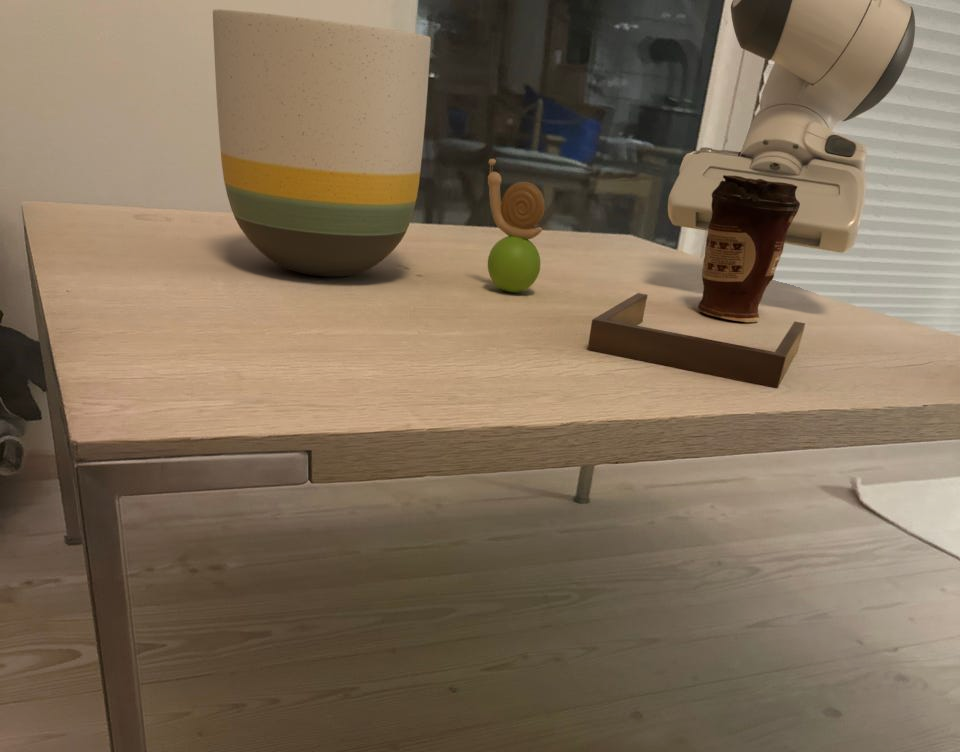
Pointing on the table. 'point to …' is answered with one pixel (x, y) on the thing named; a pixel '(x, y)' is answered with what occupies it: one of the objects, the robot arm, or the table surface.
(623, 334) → the corral
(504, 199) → the snail figurine
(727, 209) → the coffee cup
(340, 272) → the planter
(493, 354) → the table surface
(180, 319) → the table surface
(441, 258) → the table surface
